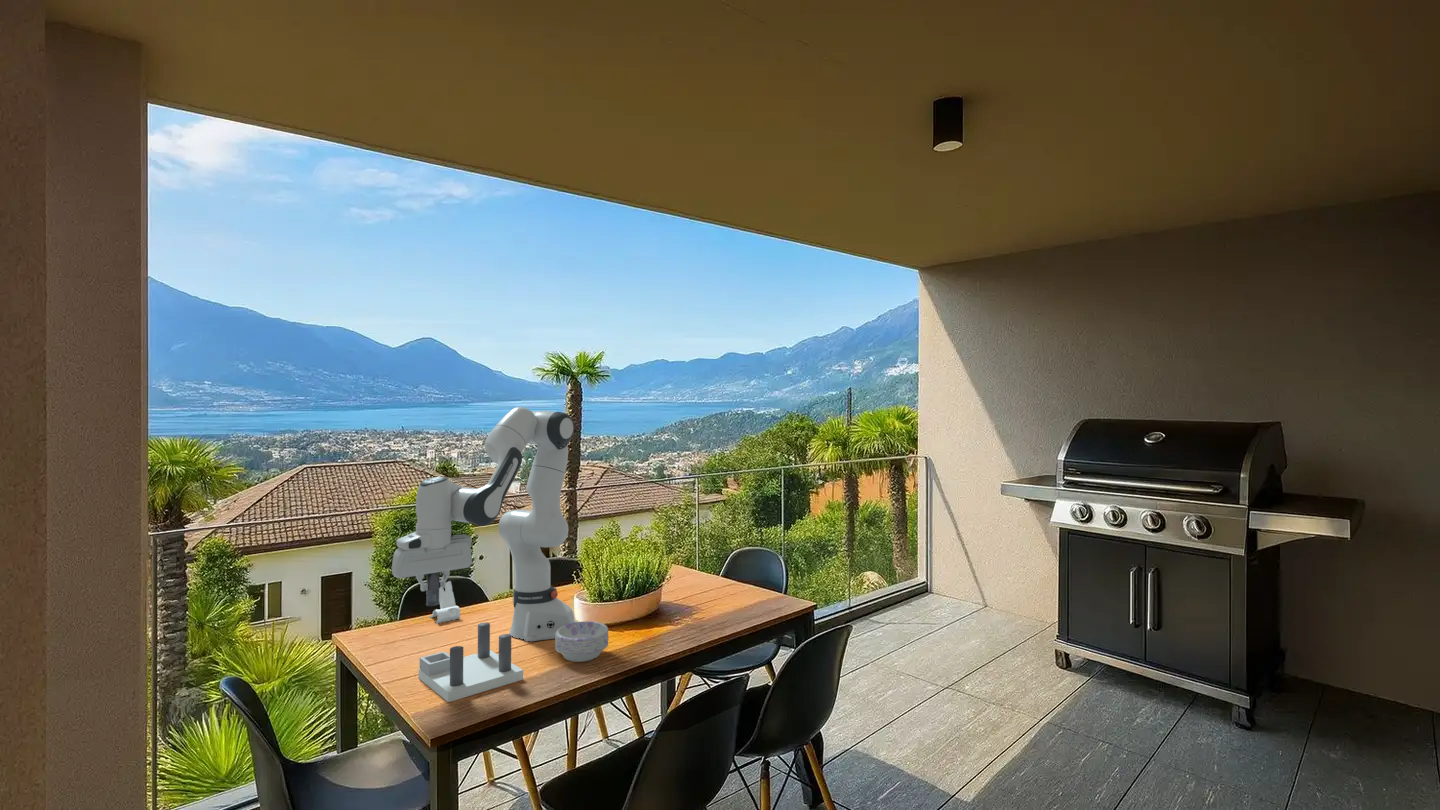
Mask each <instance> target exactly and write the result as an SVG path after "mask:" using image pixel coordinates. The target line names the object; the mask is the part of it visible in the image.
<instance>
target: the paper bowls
mask: <svg viewBox="0 0 1440 810" xmlns="http://www.w3.org/2000/svg"><path fill="white" fill-rule="evenodd" d="M554 640H555V642H554V643H555V644H554V646H555V651H556V652H557V653H559V654H562V656H563V658H564V659H566V660H567V661H569V662H573V663H574V662H575V663H584V662H588V661H592V660H595V659H597V658H598V657H599V656H600V655H601V652H602V651H603V650H605V649H607V647H608V646H609V628H608V626H607V625H606V624H604V623H602V622H597V621H592V620H591V621H579V622H574V623H569V624H566V625H563V626H561V627H560V628H558V629H557V630H556V632H555V638H554ZM594 658H595V659H594Z"/></svg>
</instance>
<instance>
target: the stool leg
mask: <svg viewBox="0 0 1440 810" xmlns="http://www.w3.org/2000/svg"><path fill="white" fill-rule="evenodd" d="M440 574H441V572H436V573H430V574H426V583H427V584H428V590H427V591H425V592H426V593H425V594H426V598H425V599H426V600H425V602H426V603H425V605H426V606H427V607H436V606H438V605H440V602H439V581H440Z"/></svg>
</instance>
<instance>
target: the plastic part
mask: <svg viewBox="0 0 1440 810" xmlns="http://www.w3.org/2000/svg"><path fill="white" fill-rule="evenodd" d="M444 589H445V590H444ZM439 608H440V609H437V608H436V609H434V610H433V611H432V615H429V617H428V619H432V618H436V617H437V620H434V623H435V622H436V623H435V624H437V623H438V624H442V622H443V623H446V621H447V622H452V621H456V619H457V620H460V619H461V609H460V606H458V605H456V599H455V595H454V591H453V584H452V581H451V580H448V581H446V584H445V588H439ZM451 620H452V621H451Z"/></svg>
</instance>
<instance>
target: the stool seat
mask: <svg viewBox="0 0 1440 810" xmlns="http://www.w3.org/2000/svg"><path fill="white" fill-rule="evenodd" d="M490 648H491V624H490V622H480V623H478V624H477V652H476V653H473V654H470V655H466V656H465V655H464V647H463V646H462V645H456V646H452V647H450V648H449V653H448V652H446V651H440V652H437V653H433V654H429V655H425V656H422V657H419V668H418V679H419V680H420V681H422V683H424V684H425V685H426V686H428V688H430V689H431V690H432V691H433V692H434V693H436V694H437V695H439V697H441V698H442V699H443V700H445V701H446V702H447V703H451V702H454V701H458V700H460V699H463V698H466V697H470V696H474V695H476V694H480V693H484V692H486V691H489V690H494V689H496V688H500V687H504V686H506V685H509V684H512V683H516V682H520V681H523V680H524V669H523V668H521V667H519V666H518V665H516V664H514V663H512V636H511V635H510V633H503V634H500V635H499V636H498V653H496V652H494V651H493V650H492V649H490Z"/></svg>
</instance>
